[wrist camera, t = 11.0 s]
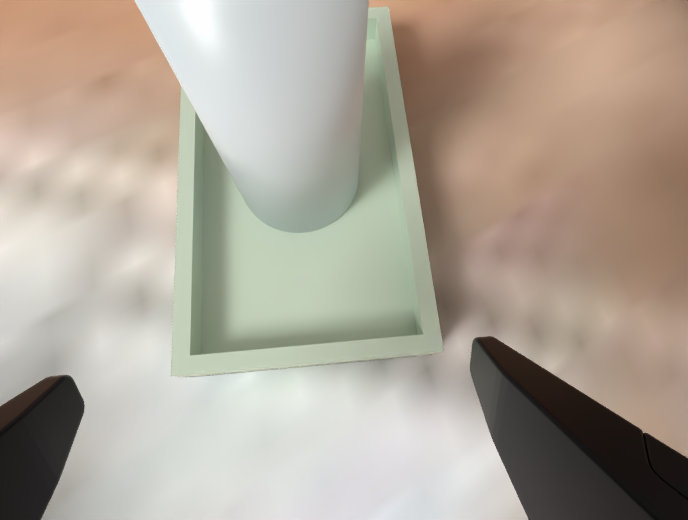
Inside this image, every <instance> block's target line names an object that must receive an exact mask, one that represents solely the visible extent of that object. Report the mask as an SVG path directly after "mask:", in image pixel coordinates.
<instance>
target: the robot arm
mask: <svg viewBox="0 0 688 520" xmlns="http://www.w3.org/2000/svg"><path fill="white" fill-rule="evenodd" d="M470 372H471V376H472V379H473V383H474V386H475V389H476V392H477V395H478V398H479V401H480V404H481V407H482V410H483V413H484V416H485V419H486V422H487V425H488V428H489V431H490V434H491V437H492V439H493V442H494V444H495V446H496V449H497V451H498V453H499V455H500V457H501V460H502V462H503V464H504V466H505V468H506V471H507V473H508V475H509V477H510V479H511V482H512V484H513V486H514V488H515V490H516V493H517V495H518V497H519V499H520V501H521V504H522V506H523V508H524V510H525V512H526V515H527V517H528V519H529V520H688V458H687V457H685V456H683V455H682V454H680V453H678V452H677V451H675V450H674V449H672V448H670V447H669V446H667V445H665V444H664V443H662V442H661V441H659V440H657V439H656V438H654V437H653V436H651V435H649V434H648V433H643V431H642V430H641V429H640V428H638V427H636V426H635V425H633V424H632V423H630V422H628V421H627V420H625V419H624V418H622V417H620V416H619V415H617V414H616V413H614V412H612V411H611V410H609V409H608V408H606V407H604V406H603V405H601V404H600V403H598V402H596V401H595V400H593V399H592V398H590V397H588V396H587V395H585V394H584V393H582V392H580V391H579V390H577V389H576V388H574V387H573V386H571V385H569V384H568V383H566V382H565V381H563V380H561V379H560V378H558V377H557V376H555V375H553V374H552V373H550V372H549V371H547V370H545V369H544V368H542V367H541V366H539V365H537V364H536V363H534V362H533V361H531V360H529V359H528V358H526V357H525V356H523V355H521V354H520V353H518V352H517V351H515V350H513V349H512V348H510V347H509V346H507V345H505V344H504V343H502V342H501V341H499V340H498V339H496V338H494V337H491V336H488V337H477V338H475V339H474V340H473V344H472V352H471V361H470ZM83 413H84V401H83V399H82V396H81V394H80V392H79V390H78V388H77V386H76V384H75V382H74V380H73V378H72V377H70V376H69V375H59V376H50V377H47V378H45V379H43V380H42V381H40V382H39V383H37V384H35V385H34V386H32V387H31V388H29V389H27V390H26V391H24V392H23V393H21V394H19V395H18V396H16V397H14V398H13V399H11V400H10V401H8V402H6V403H5V404H3V405H2V406H0V520H41V518H42V516H43V514H44V512H45V510H46V507H47V505H48V503H49V501H50V499H51V497H52V495H53V493H54V490H55V488H56V486H57V484H58V481H59V479H60V476H61V474H62V471H63V469H64V466H65V463H66V461H67V458H68V455H69V452H70V449H71V447H72V444H73V441H74V438H75V436H76V433H77V430H78V427H79V425H80V422H81V419H82V416H83Z"/></svg>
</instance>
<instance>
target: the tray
mask: <svg viewBox="0 0 688 520" xmlns="http://www.w3.org/2000/svg"><path fill="white" fill-rule="evenodd" d="M442 351H444V348H443V342H442V336H441V330H440V323H439V317H438V311H437V305H436V299H435V292H434V286H433V280H432V274H431V267H430V261H429V255H428V249H427V243H426V236H425V230H424V224H423V218H422V211H421V205H420V199H419V193H418V187H417V180H416V174H415V168H414V162H413V155H412V149H411V143H410V137H409V131H408V124H407V118H406V112H405V106H404V99H403V93H402V87H401V81H400V75H399V68H398V62H397V56H396V50H395V44H394V37H393V31H392V25H391V19H390V12H389V7H374V8H368V22H367V39H366V56H365V73H364V90H363V107H362V124H361V141H360V158H359V175H358V187H357V192H356V194H355V197H354V200H353V201H352V203H351V205H350V206H349V208H348V209H347V211H346V212H345V213H344V214H343V215H342V216H341V217H340V218H338V219H337V220H336V221H335V222H333V223H331V224H330V225H328V226H326V227H324V228H321V229H318V230H315V231H311V232H306V233H290V232H284V231H280V230H277V229H274V228H272V227H270V226H268V225H266V224H265V223H263V222H262V221H260V220H259V219H258V218H257V217H256V216H255V215H254V214H253V213H252V212H251V211H250V209H249V207H248V206H247V204H246V202H245V201H244V199H243V197H242V195H241V193H240V192H239V190H238V188H237V186H236V184H235V182H234V181H233V179H232V177H231V175H230V173H229V171H228V170H227V168H226V166H225V164H224V162H223V161H222V159H221V157H220V155H219V153H218V151H217V150H216V148H215V146H214V144H213V142H212V141H211V139H210V137H209V135H208V133H207V131H206V130H205V128H204V126H203V124H202V122H201V120H200V119H199V117H198V115H197V113H196V111H195V110H194V108H193V106H192V104H191V102H190V100H189V99H188V97H187V95H186V93H185V91H184V90H183V88H182V86H181V105H180V133H179V161H178V190H177V218H176V246H175V274H174V302H173V331H172V359H171V376H178V377H199V376H209V375H220V374H231V373H242V372H252V371H263V370H274V369H285V368H295V367H306V366H317V365H328V364H338V363H349V362H360V361H371V360H381V359H392V358H403V357H414V356H424V355H433V354H436V353H439V352H442Z"/></svg>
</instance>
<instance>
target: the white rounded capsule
mask: <svg viewBox="0 0 688 520" xmlns="http://www.w3.org/2000/svg"><path fill="white" fill-rule="evenodd" d="M135 2H136V4H137V6H138V8H139V9H140V11H141V13H142V15H143V17H144V18H145V20H146V22H147V24H148V26H149V28H150V29H151V31H152V33H153V35H154V37H155V39H156V40H157V42H158V44H159V46H160V48H161V49H162V51H163V53H164V55H165V57H166V59H167V60H168V62H169V64H170V66H171V68H172V69H173V71H174V73H175V75H176V77H177V79H178V80H179V82H180V84H181V86H182V88H183V90H184V91H185V93H186V95H187V97H188V99H189V100H190V102H191V104H192V106H193V108H194V110H195V111H196V113H197V115H198V117H199V119H200V120H201V122H202V124H203V126H204V128H205V130H206V131H207V133H208V135H209V137H210V139H211V141H212V142H213V144H214V146H215V148H216V150H217V151H218V153H219V155H220V157H221V159H222V161H223V162H224V164H225V166H226V168H227V170H228V171H229V173H230V175H231V177H232V179H233V181H234V182H235V184H236V186H237V188H238V190H239V192H240V193H241V195H242V197H243V199H244V201H245V202H246V204H247V206H248V207H249V209H250V211H251V212H252V213H253V214H254V215H255V216H256V217H257V218H258V219H259V220H260V221H262V222H263V223H265V224H266V225H268V226H270V227H272V228H274V229H277V230H280V231H284V232H290V233H306V232H311V231H315V230H318V229H321V228H324V227H326V226H328V225H330V224H331V223H333V222H335V221H336V220H337V219H338V218H340V217H341V216H342V215H343V214H344V213H345V212H346V211H347V209H348V208H349V206H350V205H351V203H352V201H353V200H354V197H355V194H356V192H357V187H358V175H359V158H360V141H361V124H362V107H363V90H364V73H365V56H366V39H367V22H368V5H369V0H135Z"/></svg>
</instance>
